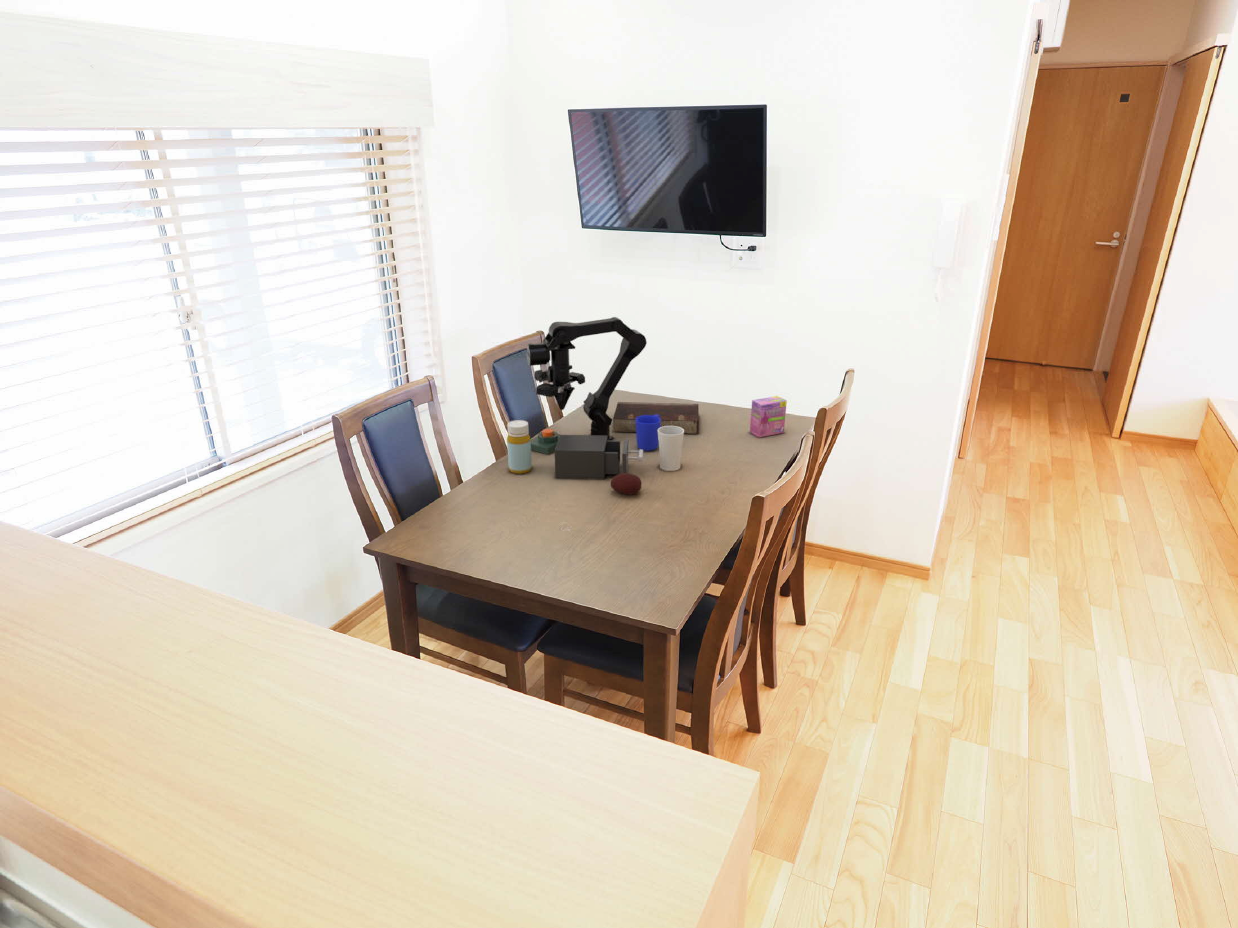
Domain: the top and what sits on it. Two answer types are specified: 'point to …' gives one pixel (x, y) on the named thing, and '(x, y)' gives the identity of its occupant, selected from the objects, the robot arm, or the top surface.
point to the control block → (545, 443)
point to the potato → (626, 483)
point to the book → (667, 412)
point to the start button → (548, 432)
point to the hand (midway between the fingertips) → (561, 409)
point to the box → (768, 416)
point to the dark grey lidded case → (580, 457)
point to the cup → (670, 447)
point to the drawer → (618, 457)
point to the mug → (647, 432)
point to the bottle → (519, 447)
